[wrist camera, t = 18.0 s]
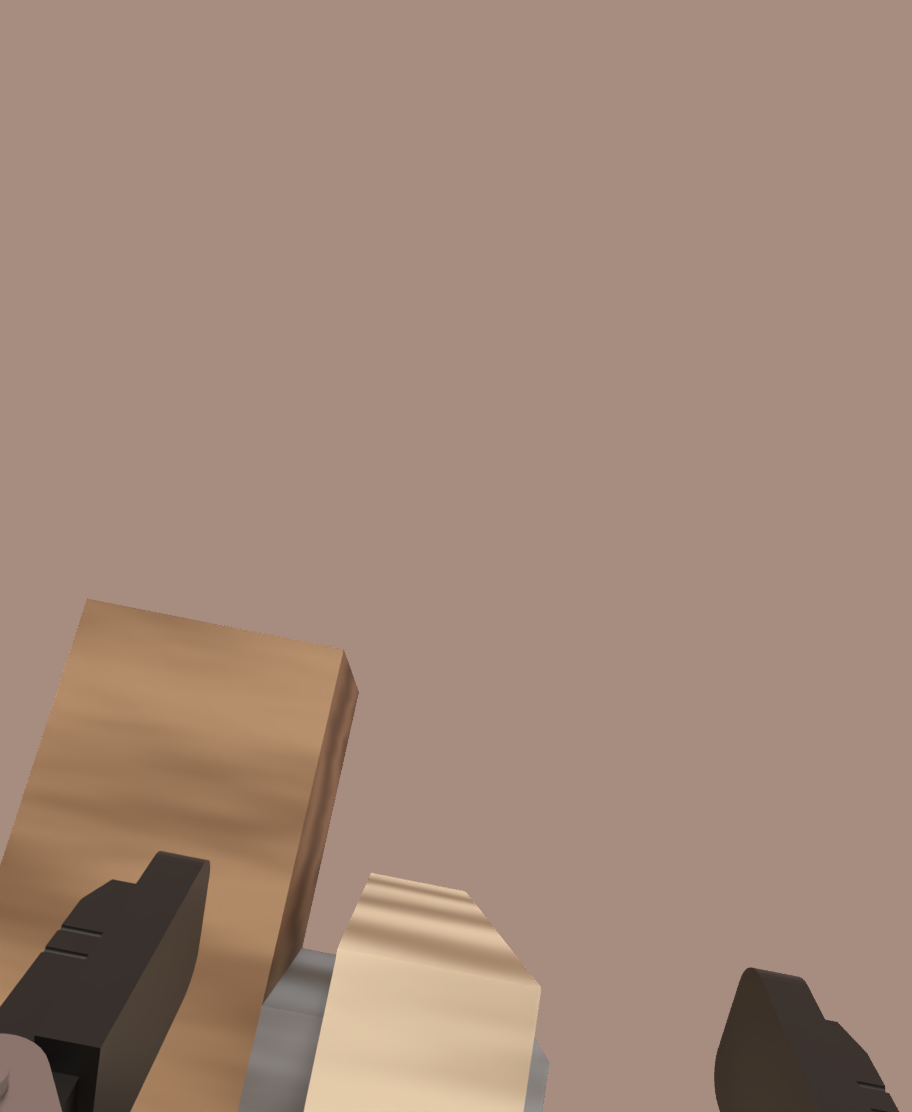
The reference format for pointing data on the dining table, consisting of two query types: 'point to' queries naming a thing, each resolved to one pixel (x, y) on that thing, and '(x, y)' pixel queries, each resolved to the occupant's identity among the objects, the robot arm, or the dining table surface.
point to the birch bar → (423, 1009)
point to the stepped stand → (197, 835)
